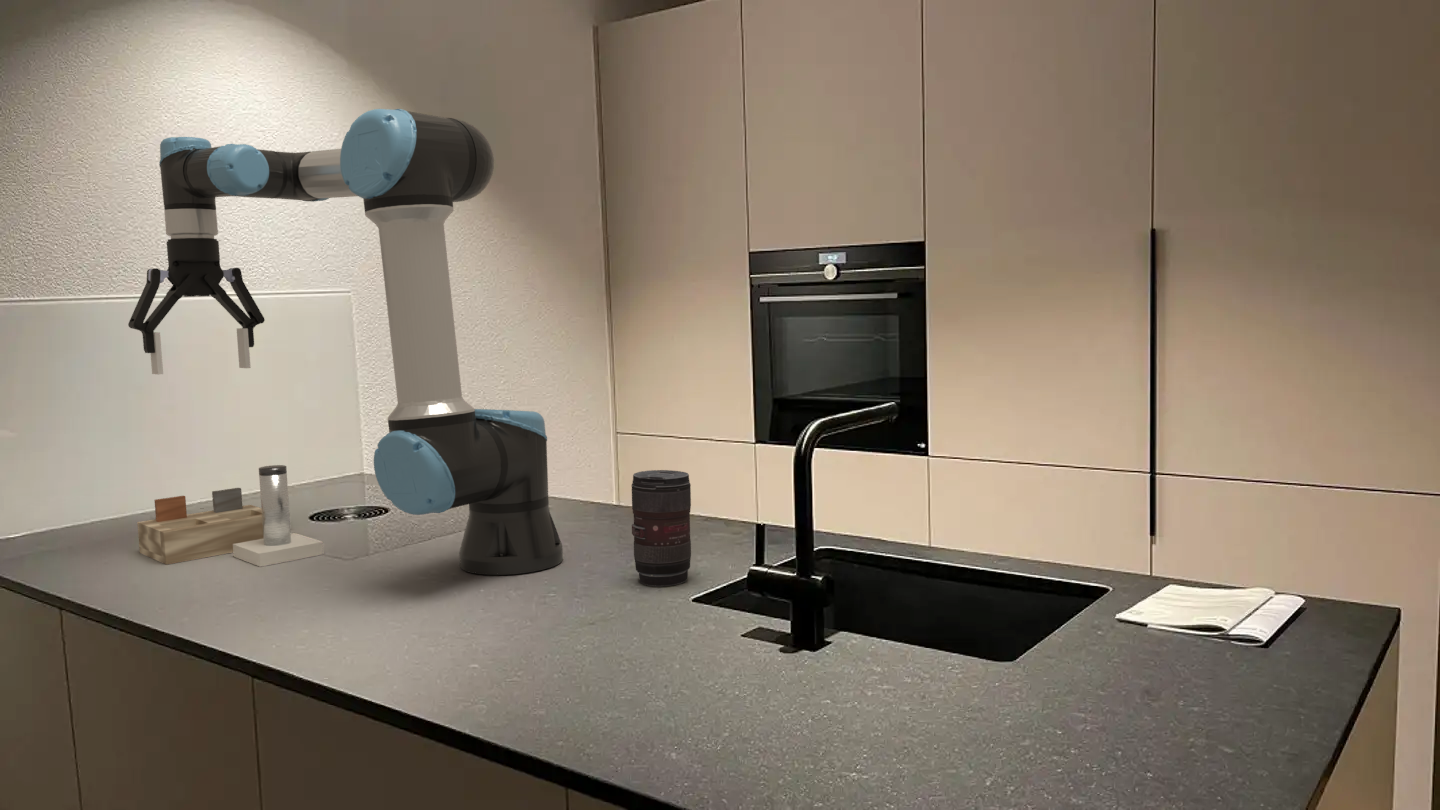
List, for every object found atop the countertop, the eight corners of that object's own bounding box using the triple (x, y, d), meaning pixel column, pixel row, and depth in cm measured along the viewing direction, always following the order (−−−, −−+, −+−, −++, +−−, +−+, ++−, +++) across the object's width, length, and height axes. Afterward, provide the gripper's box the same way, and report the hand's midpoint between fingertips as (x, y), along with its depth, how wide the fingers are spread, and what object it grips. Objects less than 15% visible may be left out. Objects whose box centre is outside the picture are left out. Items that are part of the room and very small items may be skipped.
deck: (323, 554, 176) (322, 541, 175) (260, 566, 169) (259, 553, 168) (295, 545, 183) (294, 533, 182) (233, 556, 176) (232, 544, 175)
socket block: (281, 543, 184) (278, 492, 183) (166, 564, 171) (161, 510, 171) (251, 533, 193) (248, 484, 192) (139, 552, 180) (135, 500, 179)
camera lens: (685, 589, 150) (682, 478, 149) (627, 587, 152) (623, 478, 150) (699, 573, 158) (696, 468, 156) (643, 572, 160) (640, 468, 158)
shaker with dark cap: (295, 542, 175) (290, 466, 174) (270, 547, 173) (265, 470, 171) (284, 538, 178) (279, 464, 177) (259, 543, 175) (254, 467, 174)
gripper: (260, 239, 189) (269, 364, 192) (99, 238, 172) (110, 375, 174) (279, 237, 184) (288, 366, 186) (114, 235, 167) (126, 377, 169)
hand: (202, 371), depth 180 cm, fingers open, 13 cm apart
